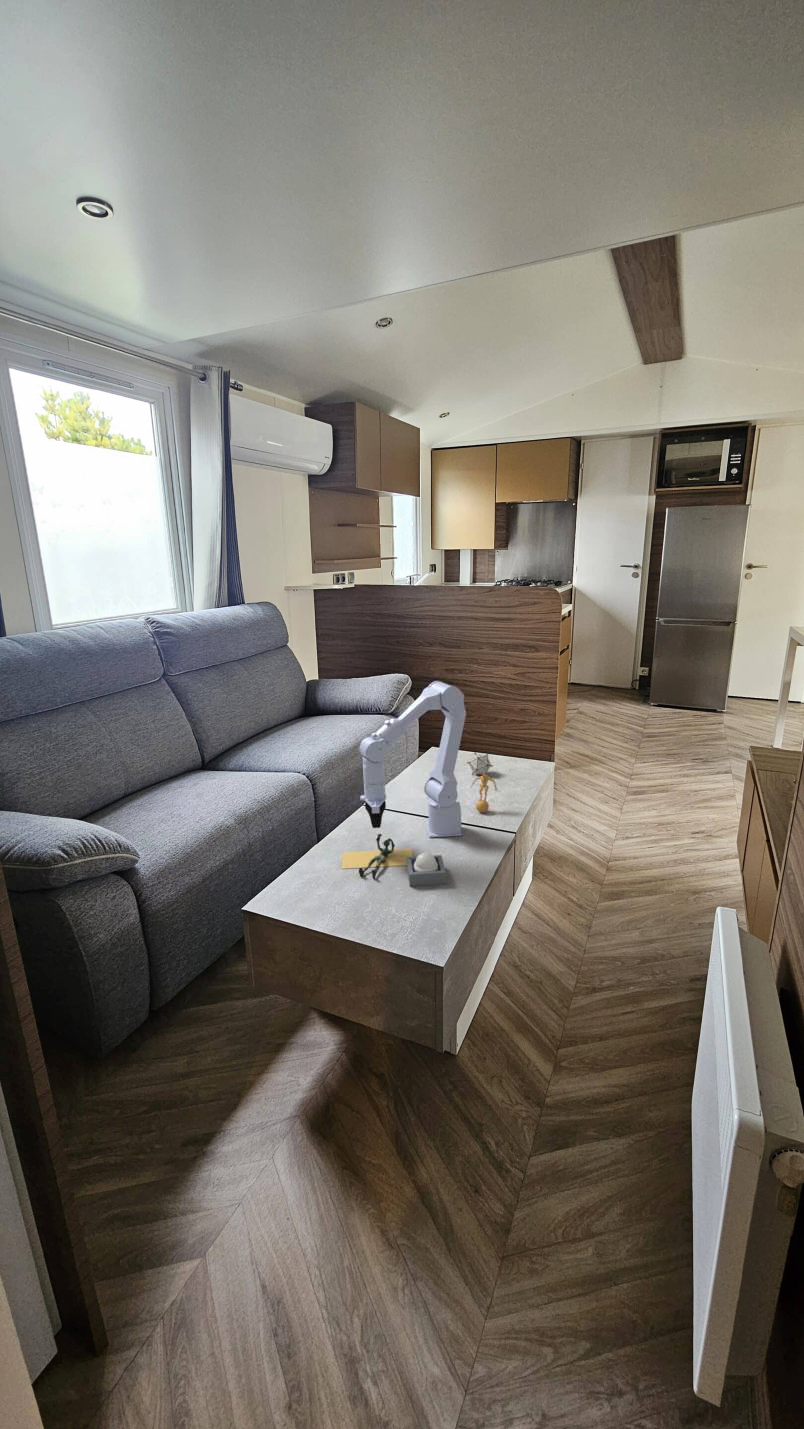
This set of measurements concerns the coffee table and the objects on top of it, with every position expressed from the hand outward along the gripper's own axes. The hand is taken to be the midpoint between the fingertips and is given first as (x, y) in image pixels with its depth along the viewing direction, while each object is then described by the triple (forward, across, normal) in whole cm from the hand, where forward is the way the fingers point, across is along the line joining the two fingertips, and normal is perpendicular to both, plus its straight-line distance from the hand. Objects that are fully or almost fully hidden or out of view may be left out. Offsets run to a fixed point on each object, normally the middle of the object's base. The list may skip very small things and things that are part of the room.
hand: (376, 826), depth 171 cm
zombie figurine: (+6, +10, 0) cm, 12 cm away
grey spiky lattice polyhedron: (+7, -52, +39) cm, 66 cm away
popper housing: (+6, +18, +12) cm, 22 cm away
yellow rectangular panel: (+6, +7, 0) cm, 9 cm away
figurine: (+6, -20, +34) cm, 40 cm away
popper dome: (+5, +18, +12) cm, 22 cm away
